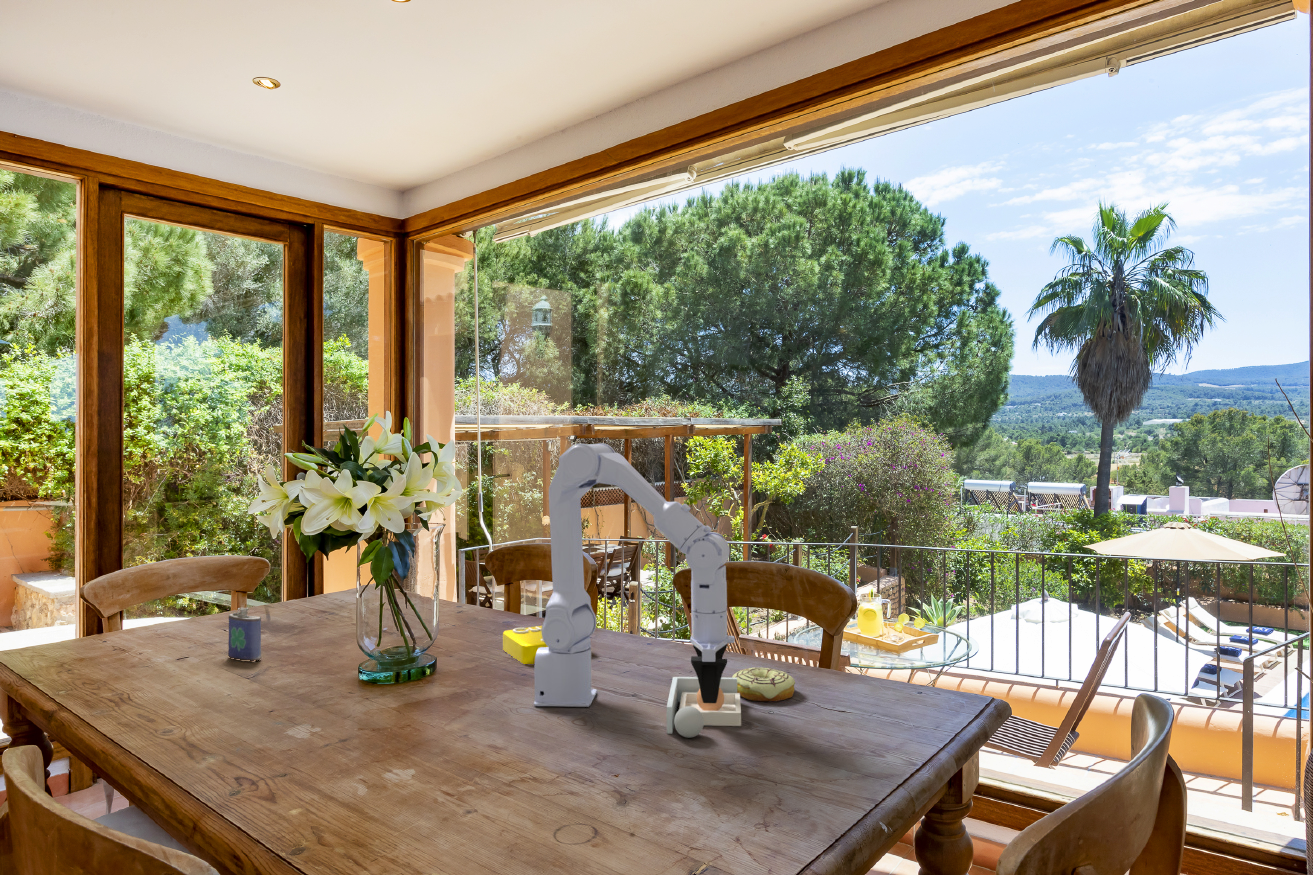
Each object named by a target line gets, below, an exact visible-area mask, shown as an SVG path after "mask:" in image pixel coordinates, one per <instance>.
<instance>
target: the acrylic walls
mask: <svg viewBox="0 0 1313 875" xmlns="http://www.w3.org/2000/svg"><path fill="white" fill-rule="evenodd" d="M671 680H672V682H671V684H670V689H669V694H668V699H667V703H666V734H667V735H669V734H670V735H671V734H673V731H674V727H675V725H674V719H675V715H676V713H677V709H678V708H677V707H678V703H680V701H681V695H682V692H698V691H699V689H700V686H699V681H698V677H697V676H672V679H671ZM719 687H720V688H721V690H722V691H723V693H737V678H732V677H722V676H721V680H720V686H719Z"/></svg>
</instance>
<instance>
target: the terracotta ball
mask: <svg viewBox="0 0 1313 875" xmlns="http://www.w3.org/2000/svg"><path fill="white" fill-rule="evenodd" d="M697 702H698V705H699V706H700V708H701V709H702V710H704V711H718V710H719V709H720V708H721V707H722V705H723V703H724V694H723V691H722V690H721V688H720V687H719V693H718V698H717V702H716V703H703V700H702V697H701V692H700V689H699V691H698V693H697Z"/></svg>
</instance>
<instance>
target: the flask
mask: <svg viewBox="0 0 1313 875" xmlns="http://www.w3.org/2000/svg"><path fill="white" fill-rule="evenodd" d="M248 611H249V607H238V608H237V612H233V613H230V614H229V615H228V640H227V641H228V645H227V646H228V652H227V657H228V656H229V657H230V658H234V659H240V660H250V661H254V660H257V661H258V660H259V661H260V659H261V660H262V625H261V624H262V623H261V622H262V617H261V616H256V615H248Z"/></svg>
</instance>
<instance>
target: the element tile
mask: <svg viewBox="0 0 1313 875" xmlns="http://www.w3.org/2000/svg"><path fill="white" fill-rule="evenodd" d="M541 647H548V646H547V645H546V643H545V642H544V640H543V637H542V625H537V626H536V625H535V626H529V627H515V628H513V629H507V630H506V629H505V630H504V631H503V632H502V651H503V650H504V651H505V652H507V653H508V654H510V655H511V656H513V658H515V659H517V660H518V661H520V662H521V663H523V664H534V663H535V656H536V652H537V650H538V648H541ZM505 652H504V653H505ZM508 654H507V655H508ZM511 656H510V657H511ZM513 658H512V659H513ZM515 659H514V660H515ZM518 661H517V662H518ZM521 663H520V664H521ZM523 664H522V665H523Z"/></svg>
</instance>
